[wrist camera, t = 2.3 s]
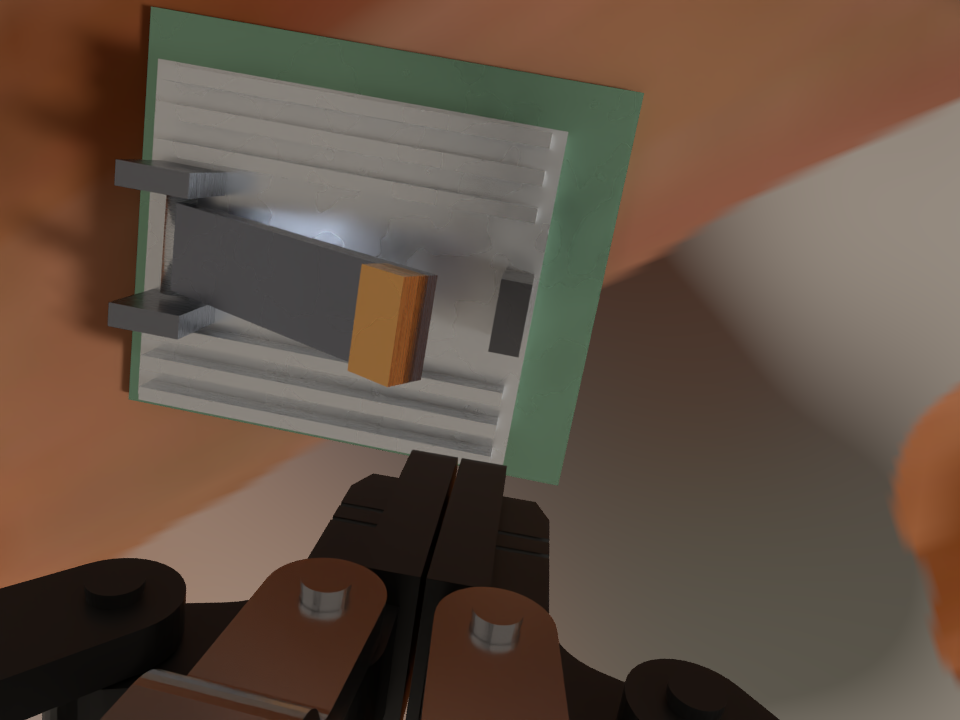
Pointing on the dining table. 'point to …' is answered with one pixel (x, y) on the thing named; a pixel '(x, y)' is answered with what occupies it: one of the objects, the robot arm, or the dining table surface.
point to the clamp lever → (301, 289)
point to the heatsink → (382, 232)
